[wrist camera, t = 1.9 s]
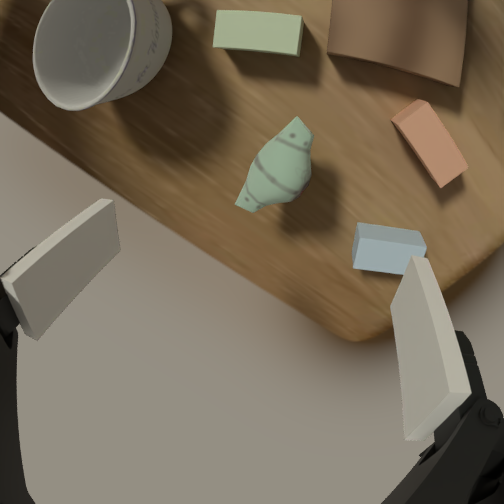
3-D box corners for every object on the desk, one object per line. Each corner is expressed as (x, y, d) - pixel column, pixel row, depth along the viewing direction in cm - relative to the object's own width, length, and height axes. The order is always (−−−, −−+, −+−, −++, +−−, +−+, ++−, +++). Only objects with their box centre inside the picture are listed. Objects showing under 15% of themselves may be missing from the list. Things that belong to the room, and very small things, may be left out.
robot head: (294, 103, 23) (284, 113, 17) (336, 133, 24) (340, 153, 18) (242, 178, 27) (218, 210, 22) (281, 205, 28) (267, 243, 22)
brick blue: (351, 250, 29) (353, 268, 26) (357, 221, 27) (359, 237, 25) (410, 258, 28) (417, 276, 25) (419, 230, 26) (426, 247, 24)
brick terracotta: (389, 119, 22) (397, 124, 20) (416, 98, 21) (427, 101, 18) (430, 175, 24) (440, 188, 21) (455, 156, 22) (468, 167, 20)
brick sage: (224, 49, 22) (212, 46, 19) (228, 16, 20) (217, 10, 18) (299, 57, 21) (296, 54, 19) (304, 22, 19) (301, 16, 17)
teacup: (144, 117, 26) (90, 138, 19) (72, 65, 24) (13, 76, 18) (234, -10, 19) (197, -38, 12) (142, -52, 17) (88, -74, 10)
